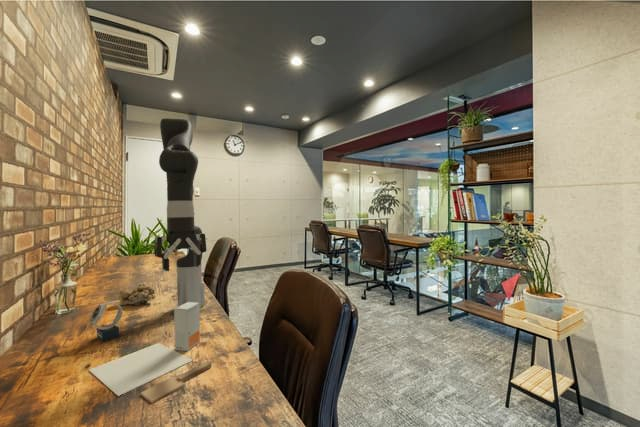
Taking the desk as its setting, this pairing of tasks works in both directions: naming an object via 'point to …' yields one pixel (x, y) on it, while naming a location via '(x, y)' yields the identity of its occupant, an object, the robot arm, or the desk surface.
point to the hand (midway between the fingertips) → (182, 268)
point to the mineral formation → (137, 295)
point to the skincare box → (187, 326)
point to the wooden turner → (172, 384)
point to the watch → (109, 330)
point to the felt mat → (138, 368)
